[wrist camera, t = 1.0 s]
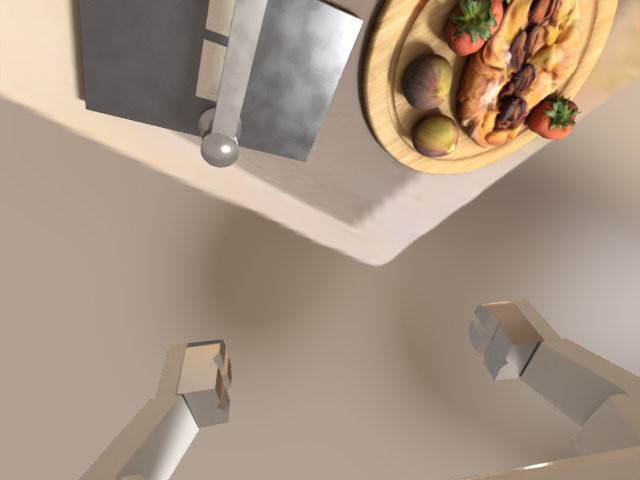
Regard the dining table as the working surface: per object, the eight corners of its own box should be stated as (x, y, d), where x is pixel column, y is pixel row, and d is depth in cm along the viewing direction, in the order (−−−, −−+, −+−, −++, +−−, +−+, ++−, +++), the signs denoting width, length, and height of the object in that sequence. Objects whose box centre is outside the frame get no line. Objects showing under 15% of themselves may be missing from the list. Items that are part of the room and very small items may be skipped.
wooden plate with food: (625, 56, 47) (680, 77, 42) (435, 200, 60) (457, 231, 54) (571, -228, 28) (659, -263, 23) (308, 70, 41) (321, 97, 35)
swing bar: (233, 161, 41) (234, 170, 39) (198, 153, 39) (198, 162, 38) (288, -54, 28) (291, -52, 26) (238, -79, 26) (239, -77, 25)
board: (78, -111, 27) (55, -111, 23) (358, 17, 37) (373, 30, 34) (90, 107, 38) (75, 129, 35) (302, 158, 49) (309, 180, 45)
